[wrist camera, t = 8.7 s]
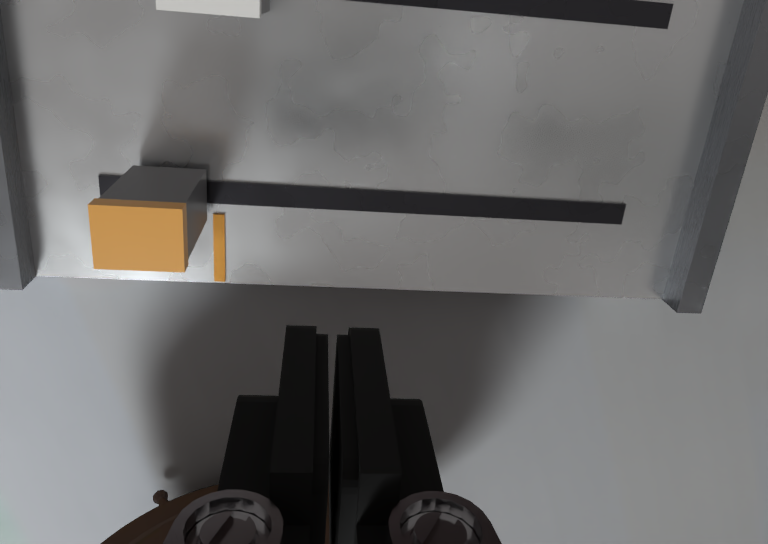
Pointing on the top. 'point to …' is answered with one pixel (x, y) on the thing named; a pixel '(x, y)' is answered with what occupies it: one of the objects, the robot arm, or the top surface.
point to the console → (392, 139)
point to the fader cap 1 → (149, 219)
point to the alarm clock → (166, 519)
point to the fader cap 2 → (217, 7)
